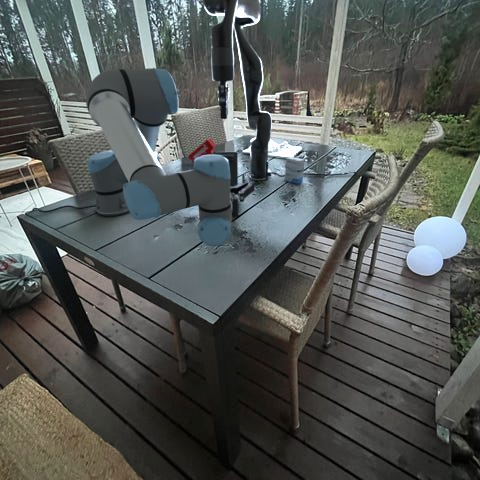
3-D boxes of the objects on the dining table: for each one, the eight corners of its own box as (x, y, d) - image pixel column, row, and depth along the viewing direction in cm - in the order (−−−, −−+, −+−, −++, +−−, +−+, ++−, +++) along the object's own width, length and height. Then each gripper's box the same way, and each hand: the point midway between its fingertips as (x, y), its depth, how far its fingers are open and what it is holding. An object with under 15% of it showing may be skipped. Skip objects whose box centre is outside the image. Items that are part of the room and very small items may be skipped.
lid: (213, 152, 104) (210, 148, 96) (237, 152, 104) (237, 148, 96) (213, 194, 106) (211, 193, 98) (237, 194, 106) (237, 193, 98)
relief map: (291, 159, 177) (291, 151, 174) (243, 153, 190) (243, 145, 187) (302, 149, 197) (303, 142, 194) (258, 144, 211) (258, 137, 208)
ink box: (302, 181, 142) (305, 159, 136) (297, 184, 139) (300, 161, 133) (289, 177, 147) (291, 156, 141) (284, 180, 144) (285, 158, 138)
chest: (217, 201, 123) (216, 181, 118) (238, 200, 123) (238, 181, 118) (215, 216, 110) (213, 195, 106) (238, 216, 110) (237, 195, 106)
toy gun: (225, 158, 166) (210, 137, 162) (223, 160, 163) (207, 139, 159) (205, 174, 176) (191, 154, 172) (202, 176, 173) (188, 156, 169)
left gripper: (174, 218, 75) (187, 188, 93) (264, 217, 75) (259, 188, 93) (170, 192, 71) (184, 167, 89) (265, 192, 71) (260, 167, 89)
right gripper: (213, 64, 96) (215, 114, 105) (209, 64, 84) (212, 120, 93) (234, 64, 96) (235, 114, 105) (233, 64, 84) (234, 120, 93)
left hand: (223, 178), depth 91 cm, fingers open, 13 cm apart
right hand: (224, 117), depth 99 cm, fingers open, 8 cm apart
